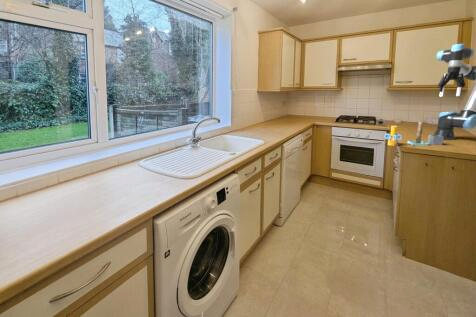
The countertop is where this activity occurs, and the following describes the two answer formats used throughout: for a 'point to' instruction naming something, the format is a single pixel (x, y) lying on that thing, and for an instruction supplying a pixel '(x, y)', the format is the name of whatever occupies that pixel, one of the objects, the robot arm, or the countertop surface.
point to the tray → (418, 143)
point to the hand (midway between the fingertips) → (449, 96)
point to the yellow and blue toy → (393, 136)
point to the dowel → (419, 132)
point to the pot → (435, 139)
